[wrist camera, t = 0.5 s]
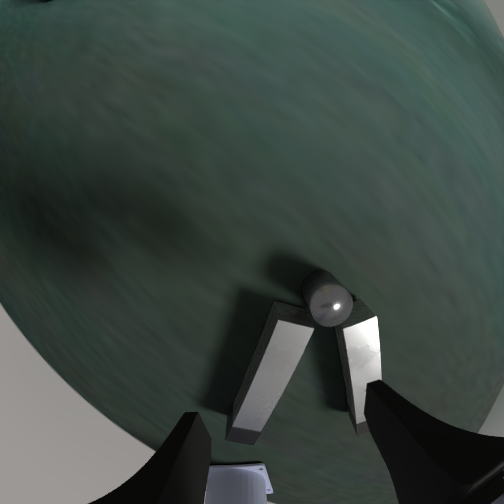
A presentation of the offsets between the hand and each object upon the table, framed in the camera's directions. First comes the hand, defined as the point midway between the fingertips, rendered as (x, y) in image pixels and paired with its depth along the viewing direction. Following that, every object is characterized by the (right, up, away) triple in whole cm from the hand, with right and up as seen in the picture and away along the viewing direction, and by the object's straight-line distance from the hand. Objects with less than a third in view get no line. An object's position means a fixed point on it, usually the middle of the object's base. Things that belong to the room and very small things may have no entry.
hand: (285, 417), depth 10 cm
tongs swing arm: (+7, -3, +11) cm, 13 cm away
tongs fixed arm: (+1, -1, +10) cm, 11 cm away
